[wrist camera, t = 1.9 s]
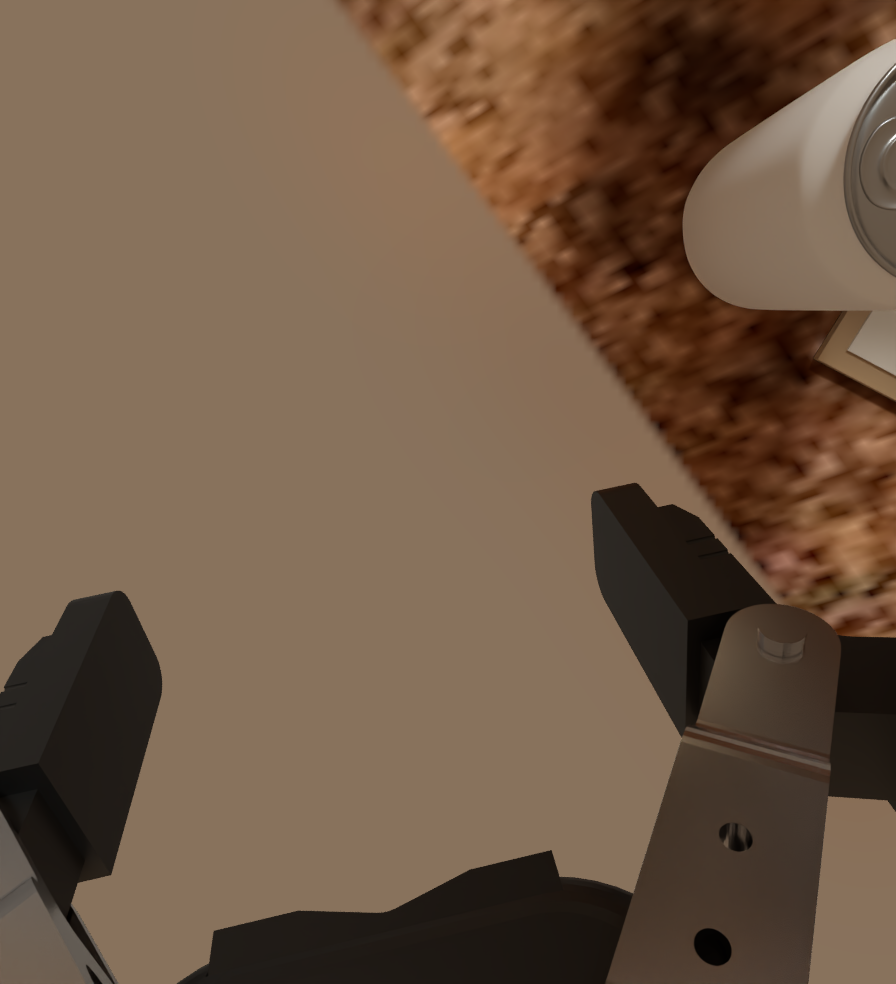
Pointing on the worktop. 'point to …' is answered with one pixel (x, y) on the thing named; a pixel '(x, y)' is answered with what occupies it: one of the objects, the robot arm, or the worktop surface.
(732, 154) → the can
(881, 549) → the worktop surface
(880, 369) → the clipboard
